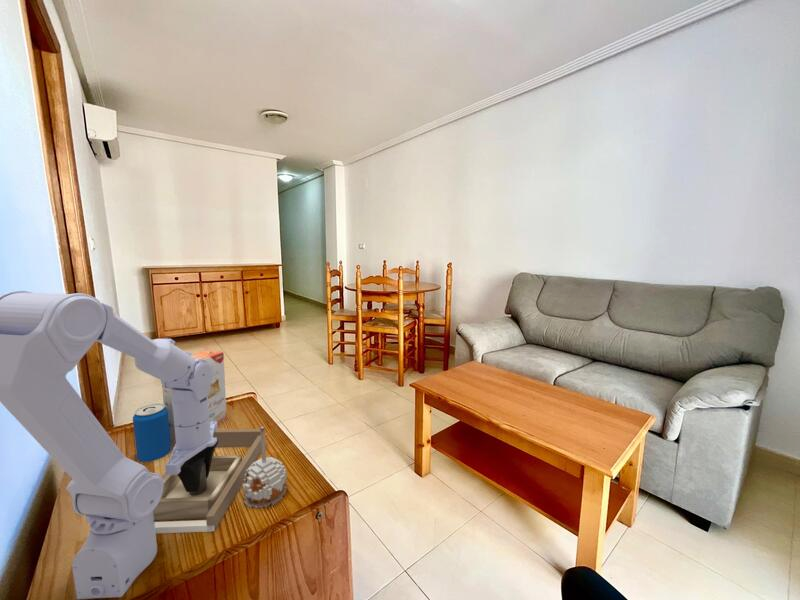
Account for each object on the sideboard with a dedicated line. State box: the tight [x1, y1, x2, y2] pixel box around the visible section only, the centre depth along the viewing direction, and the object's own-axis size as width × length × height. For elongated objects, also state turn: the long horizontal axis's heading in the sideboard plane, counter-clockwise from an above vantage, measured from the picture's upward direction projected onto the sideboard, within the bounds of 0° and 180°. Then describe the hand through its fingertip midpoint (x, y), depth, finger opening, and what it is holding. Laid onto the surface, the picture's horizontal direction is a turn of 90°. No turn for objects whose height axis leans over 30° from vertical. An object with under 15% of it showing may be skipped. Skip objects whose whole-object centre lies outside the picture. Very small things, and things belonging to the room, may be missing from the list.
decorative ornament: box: [242, 426, 288, 509], centre depth 65 cm, size 8×8×15 cm
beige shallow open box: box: [153, 454, 243, 521], centre depth 65 cm, size 13×12×6 cm
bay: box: [154, 428, 262, 535], centre depth 69 cm, size 26×15×5 cm, turn 4°
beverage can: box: [132, 403, 172, 463], centre depth 77 cm, size 6×6×12 cm
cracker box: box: [161, 349, 228, 445], centre depth 87 cm, size 14×6×21 cm, turn 164°
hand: (197, 483), depth 65 cm, fingers closed on beige shallow open box, 3 cm apart
